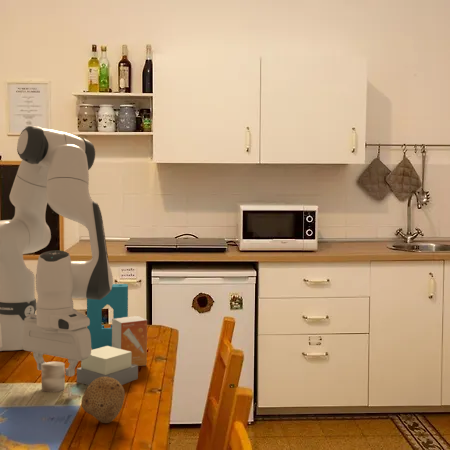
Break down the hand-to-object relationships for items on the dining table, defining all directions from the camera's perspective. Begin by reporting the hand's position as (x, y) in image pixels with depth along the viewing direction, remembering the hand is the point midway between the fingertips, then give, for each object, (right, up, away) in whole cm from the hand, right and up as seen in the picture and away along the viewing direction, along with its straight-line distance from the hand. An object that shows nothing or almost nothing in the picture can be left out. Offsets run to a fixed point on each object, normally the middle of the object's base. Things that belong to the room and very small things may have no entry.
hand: (55, 372), depth 157 cm
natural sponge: (+16, -6, -21) cm, 27 cm away
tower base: (+12, -4, +7) cm, 14 cm away
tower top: (+11, 0, +7) cm, 13 cm away
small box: (+15, -3, +21) cm, 26 cm away
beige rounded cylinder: (-1, -4, 0) cm, 4 cm away
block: (+6, -2, +34) cm, 35 cm away
